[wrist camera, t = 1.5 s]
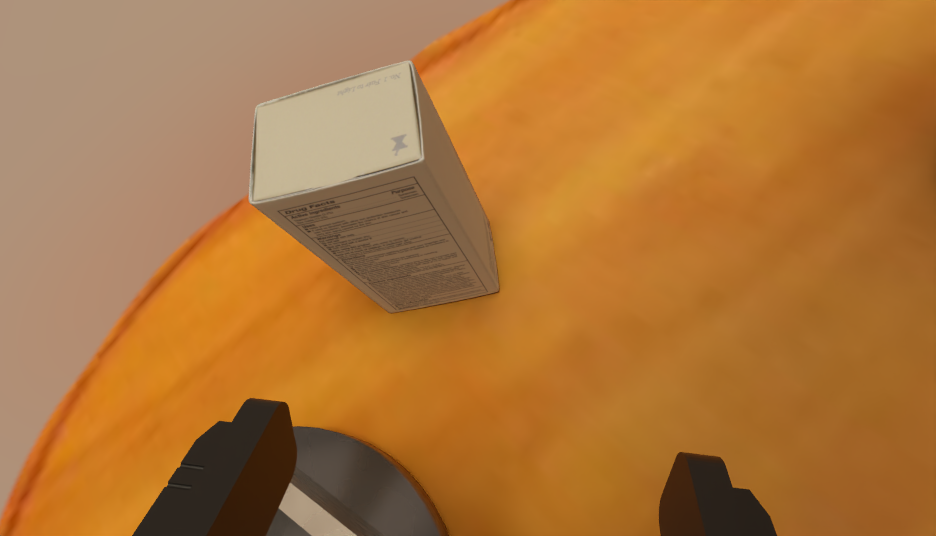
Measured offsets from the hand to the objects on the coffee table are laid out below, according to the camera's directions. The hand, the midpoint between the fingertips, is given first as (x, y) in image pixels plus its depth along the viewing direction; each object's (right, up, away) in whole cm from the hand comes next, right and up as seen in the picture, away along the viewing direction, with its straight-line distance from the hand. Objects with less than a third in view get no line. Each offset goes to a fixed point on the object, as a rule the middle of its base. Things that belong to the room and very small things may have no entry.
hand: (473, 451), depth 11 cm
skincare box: (-2, +4, +18) cm, 18 cm away
